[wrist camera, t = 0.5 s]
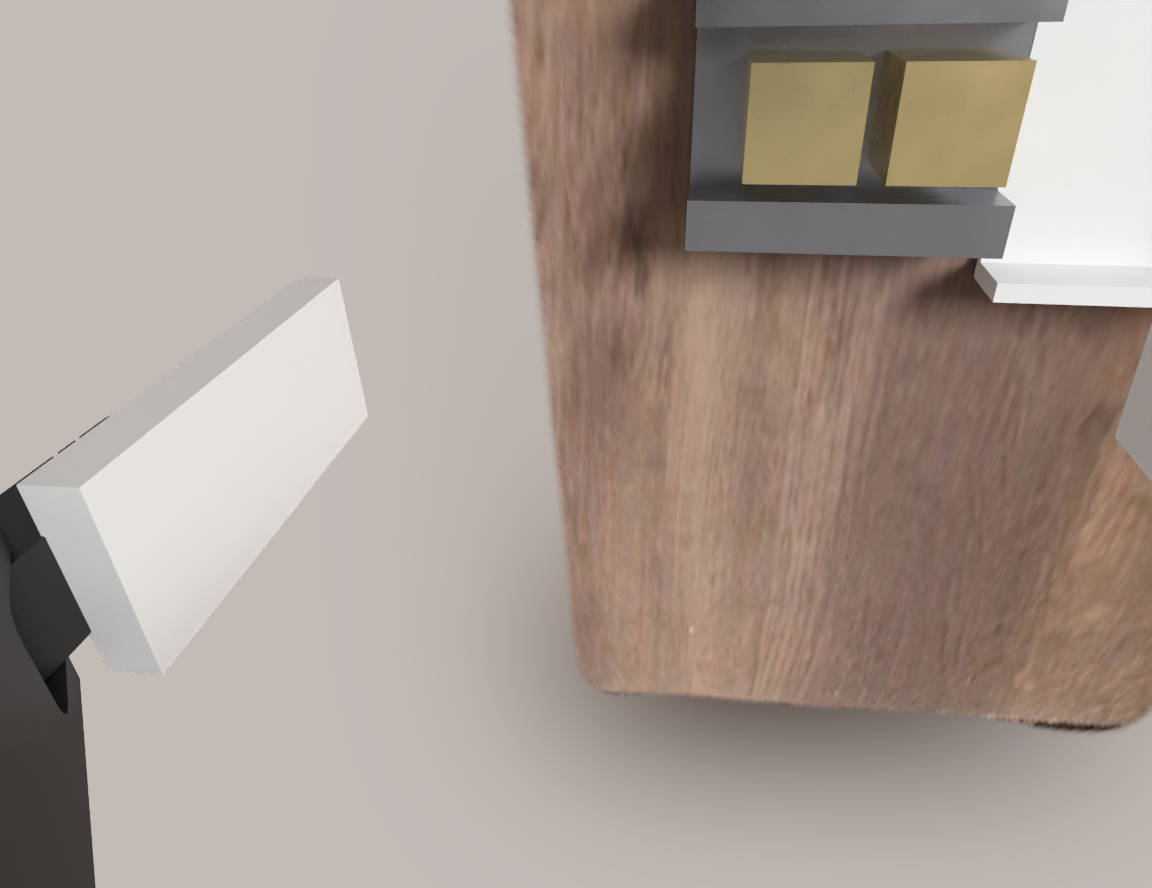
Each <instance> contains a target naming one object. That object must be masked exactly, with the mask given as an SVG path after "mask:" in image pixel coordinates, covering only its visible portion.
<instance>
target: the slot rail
mask: <svg viewBox="0 0 1152 888" xmlns="http://www.w3.org/2000/svg"><path fill="white" fill-rule="evenodd" d="M1068 1H1069V0H696V21H695V28H697V43H696V64H695V85H694V106H693V128H692V149H691V170H690V187H689V193H688V199H687V215H686V237H685V251H709V252H749V253H788V254H828V255H867V256H907V257H946V258H986V259H1002V258H1003V255H1004V251H1005V247H1006V243H1007V239H1008V235H1009V231H1010V227H1011V223H1012V219H1013V215H1014V212H1015V208H1016V205H1014V204H1013V203H1012V202H1011V201H1010V200H1009V199H1007V198H1006V197H1005V196H1004V195H1003V194H1002V193H1000V192H999V191H998V190H997V187H927V186H885V185H884V183H883V182H882V180H881V179H880V177H879V176H878V175H877V173H876V172H875V170H874V169H873V167H872V166H871V164H870V163H869V157H870V150H871V144H872V138H873V131H874V125H875V119H876V112H877V106H878V100H879V93H880V87H881V81H882V74H883V68H884V62H885V55H886V50H927V49H1004V50H1007V51H1010V52H1013V53H1016V54H1019V55H1022V56H1025V57H1029V53H1030V49H1031V45H1032V41H1033V37H1034V33H1035V28H1036V24H1037V22H1063V20H1064V16H1065V13H1066V9H1067V5H1068ZM841 50H859V51H860V52H862V53H863V54H864V55H866V56H867V57H869V58H870V59H872V60H873V61H874V62H875V65H874V72H873V78H872V85H871V92H870V98H869V105H868V111H867V118H866V124H865V131H864V138H863V144H862V151H861V157H860V164H859V170H858V177H857V184H856V186H849V185H770V184H742V176H741V149H742V136H743V123H744V110H745V98H746V85H747V72H748V59H749V52H756V51H841Z"/></svg>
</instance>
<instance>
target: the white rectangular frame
mask: <svg viewBox="0 0 1152 888" xmlns="http://www.w3.org/2000/svg"><path fill="white" fill-rule="evenodd" d="M1028 58H1031V59H1035V60H1037V63H1036V67H1035V71H1034V75H1033V79H1032V83H1031V87H1030V91H1029V95H1028V100H1027V104H1026V108H1025V112H1024V116H1023V120H1022V124H1021V128H1020V132H1019V136H1018V140H1017V144H1016V148H1015V152H1014V156H1013V160H1012V164H1011V168H1010V172H1009V177H1008V181H1007V185H1006V187H997V190H998V191H999V192H1000V193H1002V194H1003V195H1004V196H1005V197H1006V198H1007V199H1009V200H1010V201H1011V202H1012V203H1013V204H1014V205H1016V208H1015V212H1014V215H1013V219H1012V223H1011V227H1010V231H1009V235H1008V239H1007V243H1006V247H1005V251H1004V255H1003V258H1002V259H986V258H978V260H977V264H976V268H975V272H974V279H975V280H976V281H977V283H978V284H979V285H980V286H981V288H982V289H983V290H984V292H985V293H986V294H987V295H988V297H989V298H990V299H991V301H992V302H997V303H1028V304H1058V305H1088V306H1119V307H1149V308H1152V0H1069V1H1068V5H1067V9H1066V13H1065V16H1064V20H1063V22H1037V24H1036V28H1035V33H1034V37H1033V41H1032V45H1031V49H1030V53H1029V57H1028Z"/></svg>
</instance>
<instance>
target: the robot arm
mask: <svg viewBox="0 0 1152 888" xmlns="http://www.w3.org/2000/svg"><path fill="white" fill-rule="evenodd" d="M367 417H368V413H367V408H366V404H365V399H364V395H363V390H362V385H361V381H360V376H359V372H358V367H357V362H356V357H355V353H354V348H353V344H352V339H351V334H350V330H349V325H348V320H347V316H346V311H345V307H344V302H343V297H342V292H341V288H340V284H339V279H338V278H298V279H297V280H296V281H294V282H293V283H291V284H290V285H288V286H287V287H286V288H284V289H283V290H281V291H280V292H279V293H277V294H276V295H275V296H273V297H272V298H271V299H269V300H268V301H266V302H265V303H264V304H263V305H261V306H260V307H258V308H257V309H256V310H254V311H253V312H251V313H250V314H249V315H247V316H246V317H245V318H243V319H242V320H241V321H239V322H238V323H236V324H235V325H234V326H232V327H231V328H230V329H228V330H227V331H226V332H224V333H223V334H221V335H220V336H219V337H217V338H216V339H215V340H213V341H212V342H211V343H209V344H208V345H206V346H205V347H204V348H202V349H201V350H200V351H198V352H197V353H195V354H194V355H193V356H191V357H190V358H189V359H187V360H186V361H185V362H183V363H182V364H180V365H179V366H178V367H177V368H175V369H174V370H172V371H171V372H170V373H168V374H167V375H165V376H164V377H163V378H161V379H160V380H159V381H157V382H156V383H154V384H153V385H152V386H150V387H149V388H148V389H147V390H145V391H144V392H142V393H141V394H140V395H138V396H137V397H135V398H134V399H133V400H131V401H130V402H129V403H127V404H126V405H124V406H123V407H122V408H120V409H119V410H118V411H116V412H115V413H114V414H112V415H110V416H109V417H107V418H105V419H103V420H102V421H101V422H99V423H98V424H96V425H95V426H94V427H92V428H91V429H90V430H88V431H87V432H85V433H84V434H83V435H82V436H80V438H79V439H78V440H77V441H73V442H72V443H71V444H69V445H68V446H66V447H65V448H64V449H62V450H61V451H59V452H58V455H56V456H55V457H51V458H50V459H48V460H47V461H46V462H45V463H43V464H42V465H40V466H39V467H38V468H36V469H35V470H33V471H32V472H31V473H29V474H28V475H27V476H25V477H24V478H22V479H21V480H20V481H18V482H17V483H16V484H14V485H13V486H12V487H10V488H9V489H7V490H6V491H5V492H3V493H2V494H1V495H0V888H95V877H94V863H93V850H92V837H91V823H90V810H89V797H88V783H87V770H86V759H85V758H86V757H85V745H84V744H85V743H84V731H83V717H82V703H81V690H80V678H79V676H78V674H77V672H76V670H75V668H74V666H73V664H72V663H71V661H70V659H69V657H68V656H69V655H70V654H71V653H72V652H73V651H74V650H75V649H76V648H77V647H78V646H79V644H81V643H82V641H84V639H85V638H86V637H87V636H88V635H89V634H90V636H91V638H92V640H93V642H94V644H95V646H96V648H97V650H98V652H99V654H100V656H101V658H102V660H103V662H104V664H105V666H106V668H107V670H112V671H124V672H135V673H147V674H157V675H163V674H164V673H165V672H166V670H167V669H168V668H169V666H170V665H171V664H172V663H173V662H174V660H175V659H176V658H177V657H178V655H179V654H180V653H181V651H182V650H183V649H184V648H185V646H186V645H187V644H188V643H189V641H190V640H191V639H192V638H193V636H194V635H195V634H196V633H197V631H198V630H199V629H200V628H201V626H202V625H203V624H204V623H205V621H206V620H207V619H208V617H209V616H210V615H211V614H212V612H213V611H214V610H215V609H216V607H217V606H218V605H219V603H220V602H221V601H222V600H223V598H224V597H225V596H226V595H227V594H228V592H229V591H230V590H231V588H232V587H233V586H234V585H235V583H236V582H237V581H238V580H239V578H240V577H241V576H242V575H243V573H244V572H245V571H246V570H247V568H248V567H249V566H250V565H251V563H252V562H253V561H254V559H255V558H256V557H257V556H258V554H259V553H260V552H261V550H262V549H263V548H264V547H265V546H266V544H267V543H268V542H269V541H270V539H271V538H272V537H273V535H274V534H275V533H276V531H278V529H279V528H280V527H281V525H282V524H283V523H284V522H285V520H286V519H287V518H288V517H289V515H290V514H291V513H292V512H293V510H294V509H295V508H296V506H297V505H298V504H299V503H300V501H301V500H302V498H304V496H305V495H306V494H307V493H308V491H309V490H310V489H311V488H312V486H313V485H314V484H315V483H316V481H317V480H318V479H319V478H320V476H321V475H322V474H323V473H324V471H325V470H326V469H327V467H328V466H329V465H330V464H331V462H332V461H333V460H334V459H335V457H336V456H337V455H338V453H339V452H340V451H341V450H342V449H343V447H344V446H345V445H346V443H347V442H348V441H349V440H350V439H351V437H352V436H353V435H354V433H355V432H356V431H357V430H358V428H359V427H360V426H361V424H362V423H363V422H364V421H365V419H366V418H367ZM1115 438H1116V439H1117V440H1118V441H1119V443H1120V444H1121V445H1122V446H1123V447H1124V449H1125V450H1126V451H1127V452H1128V454H1129V455H1130V456H1131V457H1132V458H1133V460H1134V461H1135V462H1136V463H1137V464H1138V466H1139V467H1140V468H1141V469H1142V471H1143V472H1144V473H1145V474H1146V475H1147V477H1148V478H1149V479H1150V480H1151V482H1152V325H1151V328H1150V331H1149V334H1148V337H1147V340H1146V343H1145V346H1144V349H1143V352H1142V355H1141V358H1140V361H1139V364H1138V367H1137V371H1136V374H1135V377H1134V380H1133V383H1132V386H1131V389H1130V392H1129V395H1128V398H1127V401H1126V404H1125V407H1124V410H1123V413H1122V416H1121V419H1120V422H1119V426H1118V429H1117V432H1116V435H1115Z"/></svg>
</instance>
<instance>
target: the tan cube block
mask: <svg viewBox="0 0 1152 888" xmlns="http://www.w3.org/2000/svg"><path fill="white" fill-rule="evenodd" d="M874 65H875V62H874V61H873V60H872V59H870V58H869V57H867V56H866V55H864V54H863V53H862V52H860V51H859V50H841V51H756V52H749V59H748V72H747V85H746V98H745V110H744V123H743V136H742V149H741V176H742V184H770V185H849V186H856V184H857V177H858V170H859V164H860V157H861V151H862V144H863V138H864V131H865V124H866V118H867V111H868V105H869V98H870V92H871V85H872V78H873V72H874Z"/></svg>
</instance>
